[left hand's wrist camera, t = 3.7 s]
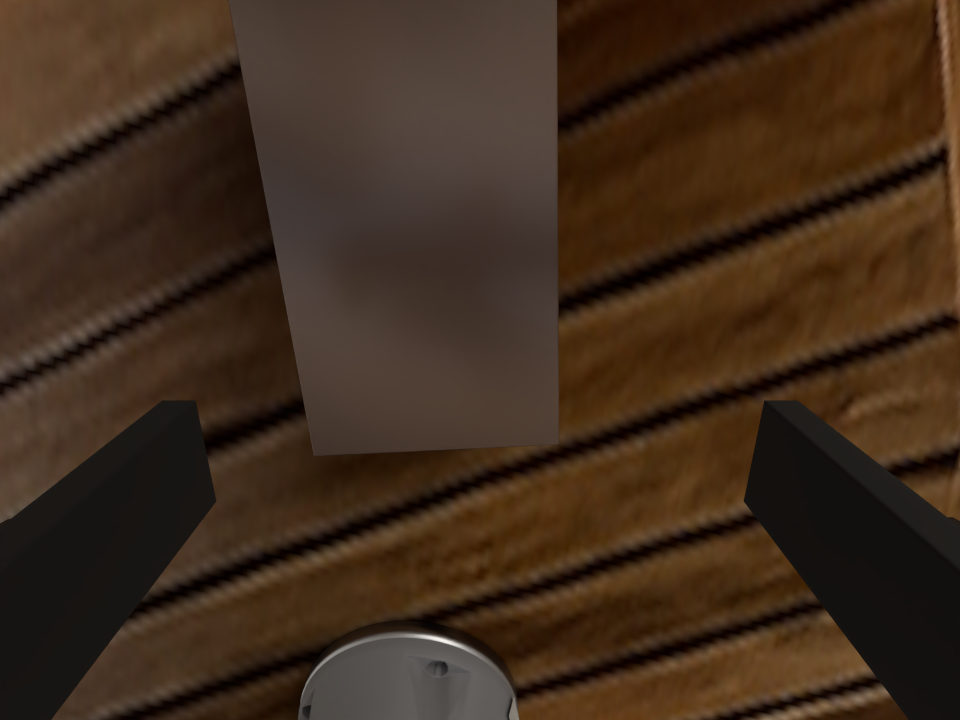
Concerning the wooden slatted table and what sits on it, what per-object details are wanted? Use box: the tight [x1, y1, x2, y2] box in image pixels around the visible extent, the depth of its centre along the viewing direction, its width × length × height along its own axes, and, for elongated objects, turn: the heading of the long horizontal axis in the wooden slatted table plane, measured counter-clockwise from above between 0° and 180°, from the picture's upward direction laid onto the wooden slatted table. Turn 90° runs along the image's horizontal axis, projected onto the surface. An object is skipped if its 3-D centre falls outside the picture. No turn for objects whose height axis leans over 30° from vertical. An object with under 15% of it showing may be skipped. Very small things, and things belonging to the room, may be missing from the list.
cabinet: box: [228, 0, 559, 456], centre depth 23 cm, size 18×10×9 cm, turn 3°
